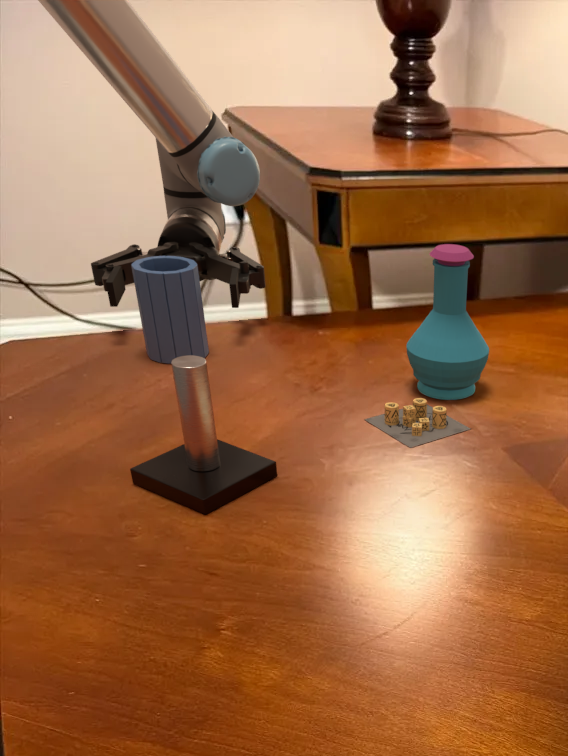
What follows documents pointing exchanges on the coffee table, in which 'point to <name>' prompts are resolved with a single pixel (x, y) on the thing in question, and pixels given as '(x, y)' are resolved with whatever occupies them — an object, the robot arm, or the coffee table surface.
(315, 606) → the coffee table surface
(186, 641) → the coffee table surface
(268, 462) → the peg on square base
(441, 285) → the perfume bottle
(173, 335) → the blue sleeve
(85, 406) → the coffee table surface
